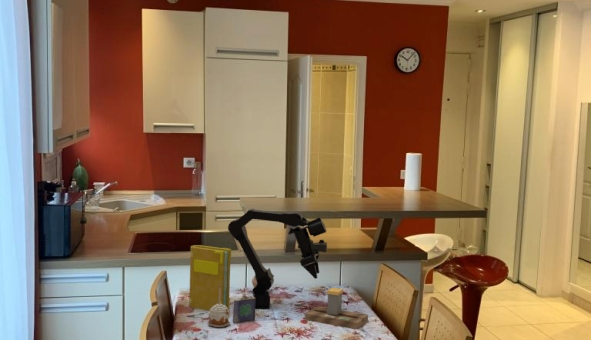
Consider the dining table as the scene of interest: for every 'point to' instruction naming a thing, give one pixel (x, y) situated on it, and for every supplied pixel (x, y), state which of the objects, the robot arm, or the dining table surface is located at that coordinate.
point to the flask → (244, 309)
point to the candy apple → (219, 314)
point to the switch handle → (334, 301)
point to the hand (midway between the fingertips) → (317, 275)
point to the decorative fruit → (254, 281)
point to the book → (209, 277)
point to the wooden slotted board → (337, 318)
